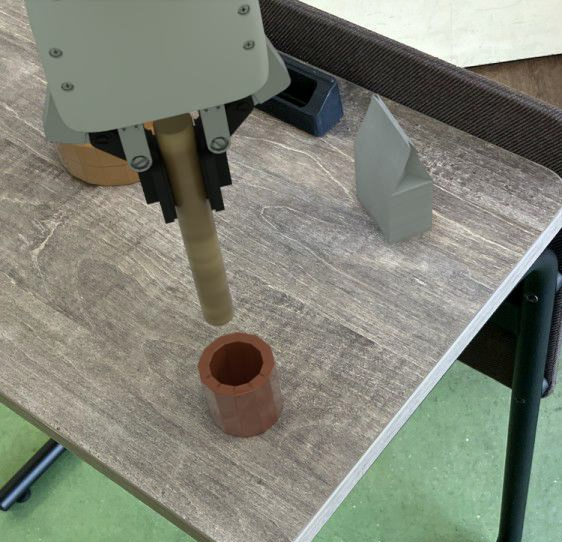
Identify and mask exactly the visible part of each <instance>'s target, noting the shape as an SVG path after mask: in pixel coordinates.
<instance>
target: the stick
mask: <svg viewBox="0 0 562 542" xmlns="http://www.w3.org/2000/svg"><path fill="white" fill-rule="evenodd" d="M194 125H195V124H194V120H193V117H192V115H191V114H190V112H189V113H184V114H180V115H176V116H172V117H167V118H163V119H159V120H154V121H153V129H154V133H155V137H156V140H157V144H158V148H159V151H160V154H161V155H162V159H163V163H164V167H165V171H166V174H167V178H168V182H169V186H170V189H171V193H172V197H173V201H174V205H175V209H176V213H177V217H178V219H177V223H178V227H179V230H180V234H181V238H182V241H183V245H184V249H185V253H186V257H187V260H188V261H187V262H188V264H189V268H190V271H191V275H192V276H191V277H192V279H193V283H194V287H195V290H196V294H197V299H198V301H199V305H200V309H201V313H202V318H203V319H204V321H205V322H206V323H207V324H208V325H210V326H214V327H222V326H225V325H227V324H228V323H230V322H231V321H232V319H233V318H234V316H235V308H234V304H233V299H232V294H231V290H230V285H229V280H228V276H227V272H226V265H225V261H224V259H223V253H222V249H221V244H220V240H219V235H218V230H217V226H216V221H215V217H214V212H213V210H211V206H210V202H209V199H208V194H207V190H206V185H205V181H204V176H203V172H202V167H201V163H200V158H199V154H198V149H197V145H198V144H197V139H196V134H195V130H194Z"/></svg>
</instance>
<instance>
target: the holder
mask: <svg viewBox="0 0 562 542" xmlns="http://www.w3.org/2000/svg"><path fill="white" fill-rule="evenodd" d="M197 370H198V375H199V379H200V383H201V386H202V389H203V392H204V395H205V399H206V402H207V406H208V409H209V411H210V415H211V417H212V421H213V423H214V425H216V426H217V427H218V428H219V430H222V431H223V432H224V433H225V434H226V435H230V436H233V437H239V438H251V437H255V436H258V435H261V434H263V433H265V432H266V431H268V430H270V429H271V428H272V427H273V426H274V425H275V424H276V423H277V422H278V420H279V418H280V416H281V414H282V409H283V406H284V401H283V396H282V391H281V387H280V380H279V375H278V370H277V365H276V360H275V357H274V353H273V349H272V346H271V345H270V344H268V343H267V342H266V341H265V340H263V339H262V338H261V337H259V335H256V334H251V333H246V332H241V331H235V332H233V333H229V334H224V335H220V336H218V337H217V338H215V339H214V340H213V341H212V342H211V343H209V344H208V345H207V346H206V347H205V348H203V351H202V353H201V355H200V357H199V360H198V363H197Z"/></svg>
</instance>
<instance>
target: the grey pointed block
mask: <svg viewBox="0 0 562 542" xmlns="http://www.w3.org/2000/svg"><path fill="white" fill-rule="evenodd" d="M361 122H362V123H361V125H360V127H359V129H358V131H357V134H356V136H355V138H354V140H353V157H354V178H355V196H356V197H357V198H358V200H359V202H360V203H361V205H362V207H363V208H364V210H365V211H366V213H367V215H368V216H369V217H371V218H372V219H373V220H374V223H375V224H376V225H377V227H378V229H379V231H380V232H381V234H382V235H383V236H384V239H385V240H386V242H387V243H388V244H389V246H392V245H395V244H398V243H400V242H403V241H406V240H409V239H412V238H414V237H417V236H419V235H422V234H425V233H427V232H430V231H432V229H433V208H434V207H433V206H434V186H435V184H434V183H435V181H434V179H433V178H432V177H431V175H430V173H429V172H428V170H427V169H426V168H425V166H424V165H423V163H422V161H421V159H420V158H419V155H418V153H417V149H416V146H415V145H414V144H413V142H412V141H411V139H410V138H409V137H408V135H407V133H406V132H405V131H404V129H403V128H402V126H401V125H400V124H399V122H398V121H397V119H396V118H395V117H394V115H393V114H392V113H391V111H390V109H389V108H388V107H387V105H386V104H385V102H383V100H382V99H381V97H380V96H379V94H378V93H376V96H375V95H374V94H371V98H370V103H369V105H368V108H367V110H366V114H365V116H364V118H363V120H362V121H361Z"/></svg>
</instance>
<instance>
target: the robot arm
mask: <svg viewBox="0 0 562 542" xmlns="http://www.w3.org/2000/svg"><path fill="white" fill-rule="evenodd" d="M23 2H24V6H25V10H26V15H27V17H28V18H27V19H28V21H29V25H30V29H31V34H32V35H33V39H34V43H35V46H36V50H37V53H38V57H39V60H40V64H41V66H42V69H43V73H44V76H45V79H46V89H45V97H44V104H43V109H44V111H43V110H42V125H43V130H44V138H45V139H46V140H47V141H49V142H50V143H53V144H54V143H64V144H77V145H84V144H85V143H87V144H91V145H92V146H93V147H95V148H97V149H99V150H101V151H104V152H106V153H108V154H111V155H113V156H116V157H118V158H120V159H123V160H125V161H127V162H128V166H129V167H130V169H131V170H133V171H135V172H137V173H138V176H139V179H140V181H139V182H140V185H141V189H142V192H143V196H144V200H145V203H146V205H152V204H157V203H159V206H160V209H161V211H162V216H163V219H164V224H165V225H167V224H172V223H175V222H176V221H175V220H178V217H177V213H176V209H175V205H174V201H173V197H172V193H171V189H170V186H169V182H168V178H167V174H166V171H165V167H164V163H163V159H162V155H161V154H160V151H159V148H158V144H157V140H156V137H155V135H153V134H152V130H151V129H150V130H148V129H146V128H145V127H144V123H145V122H150V121H154V120H159V119H163V118H167V117H172V116H176V115H180V114H184V113H189V114H190V113H192V112H197V113H198V116H197V117H196V118H194V119H193V125H194V130H195V134H196V139H197V144H198V145H197V149H198V154H199V158H200V163H201V167H202V172H203V176H204V181H205V185H206V190H207V194H208V199H209V202H210V206H211V210H212V211H215V213H218V212H222V211H226V208H225V203H224V197H223V193H222V189H221V188H224V187H227V186H231V185H232V186H233V180H232V174H231V170H230V164H229V159H228V154H227V151H228V150H229V149H230V148H231V146H232V139H231V137H232V136H233V135H234V134H235V132H236V131H237V130H238V129H239V127H241V125H242V124H243V123H244V122H245V121H246V119H247V118H248V117H249V116H250V115H251V114H252V112H253V111H254V109H255V106H256V105H258V104H260V105H262V104H263V103H265V102H267V101H268V100H270V99H271V98H273V97H275V96H277V95H278V94H280V93H282V92H283V91H285V90H287V88H288V87H290V85H291V82H292V79H291V77H290V73H289V71H288V68H287V66H286V63H285V61H284V60H283V58H282V57H281V55H280V53H278V51H277V49H276V48H275V46H274V45H273V43H272V42H271V41H270V39H269V38H268V36H267V35H266V33H265V28H264V24H263V19H262V13H261V8H260V2H259V0H23Z"/></svg>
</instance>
